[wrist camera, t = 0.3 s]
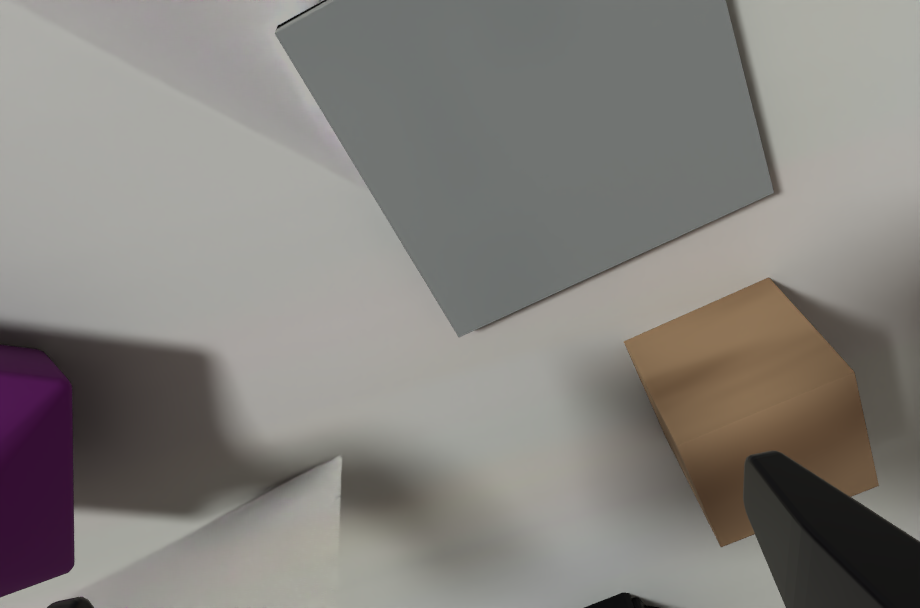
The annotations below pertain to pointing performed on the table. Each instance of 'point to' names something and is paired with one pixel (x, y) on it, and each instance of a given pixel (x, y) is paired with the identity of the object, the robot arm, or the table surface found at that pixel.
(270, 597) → the table surface
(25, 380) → the perfume bottle
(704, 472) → the walnut cube
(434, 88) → the slate coaster
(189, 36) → the table surface
